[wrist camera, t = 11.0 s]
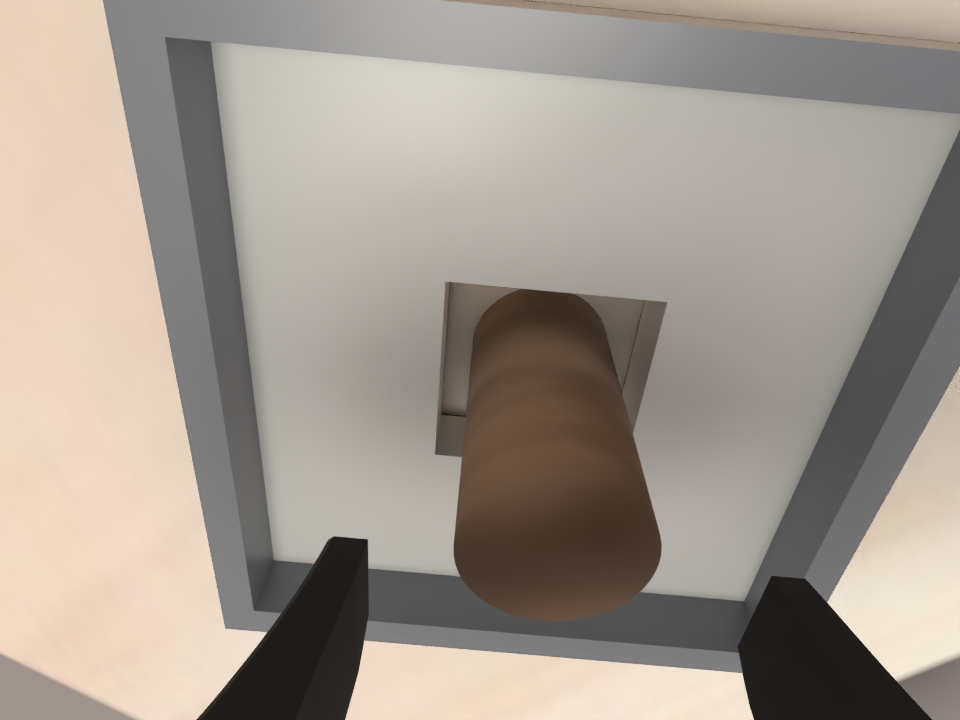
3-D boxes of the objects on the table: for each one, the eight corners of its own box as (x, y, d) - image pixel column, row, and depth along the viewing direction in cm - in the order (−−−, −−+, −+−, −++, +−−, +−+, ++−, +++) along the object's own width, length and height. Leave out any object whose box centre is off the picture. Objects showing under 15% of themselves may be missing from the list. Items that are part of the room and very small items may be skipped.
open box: (982, 45, 15) (1126, 67, 11) (745, 576, 24) (785, 676, 21) (193, -33, 14) (96, -34, 11) (266, 534, 24) (225, 628, 20)
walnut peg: (633, 355, 19) (701, 567, 12) (528, 423, 21) (538, 644, 14) (552, 259, 18) (579, 440, 11) (445, 339, 19) (410, 542, 12)
